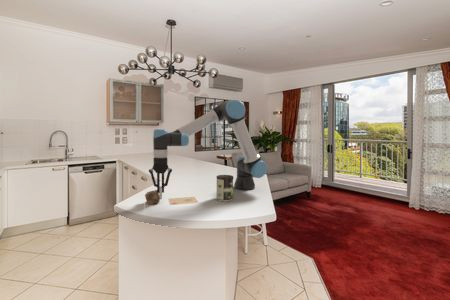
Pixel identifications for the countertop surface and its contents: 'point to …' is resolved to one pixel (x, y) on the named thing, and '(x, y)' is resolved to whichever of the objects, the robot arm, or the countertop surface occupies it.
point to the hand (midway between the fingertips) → (160, 198)
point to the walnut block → (152, 197)
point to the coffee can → (224, 188)
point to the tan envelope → (182, 200)
